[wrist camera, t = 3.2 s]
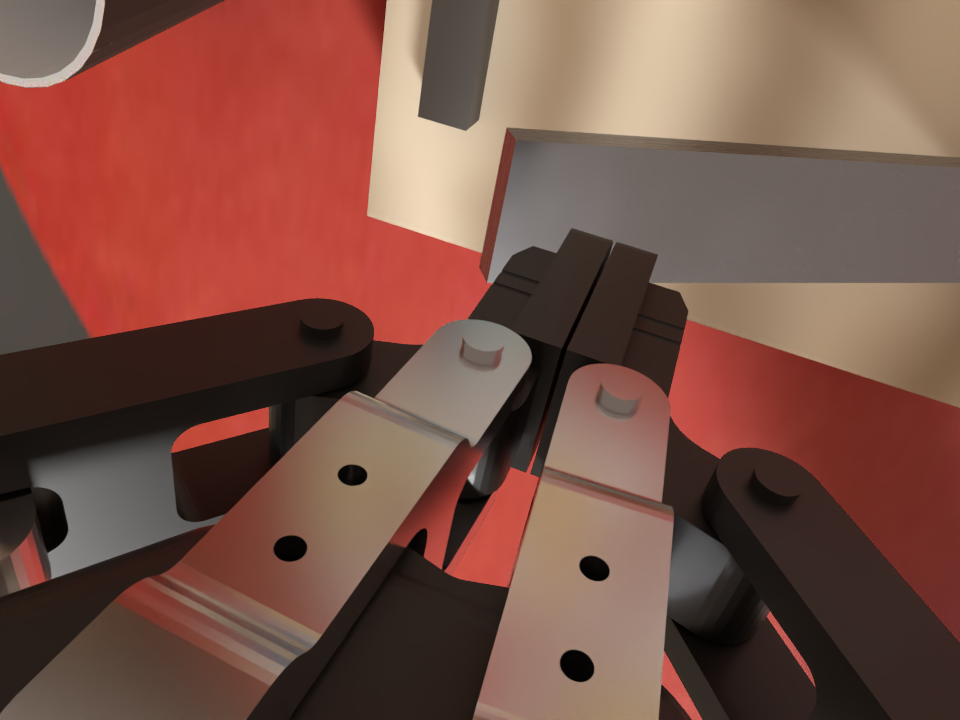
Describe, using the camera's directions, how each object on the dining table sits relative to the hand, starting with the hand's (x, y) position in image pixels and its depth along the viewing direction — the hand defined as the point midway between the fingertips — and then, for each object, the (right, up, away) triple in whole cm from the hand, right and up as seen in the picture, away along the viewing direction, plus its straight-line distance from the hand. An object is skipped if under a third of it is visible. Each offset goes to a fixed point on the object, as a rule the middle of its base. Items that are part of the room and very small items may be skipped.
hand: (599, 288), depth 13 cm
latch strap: (+6, +2, +5) cm, 8 cm away
